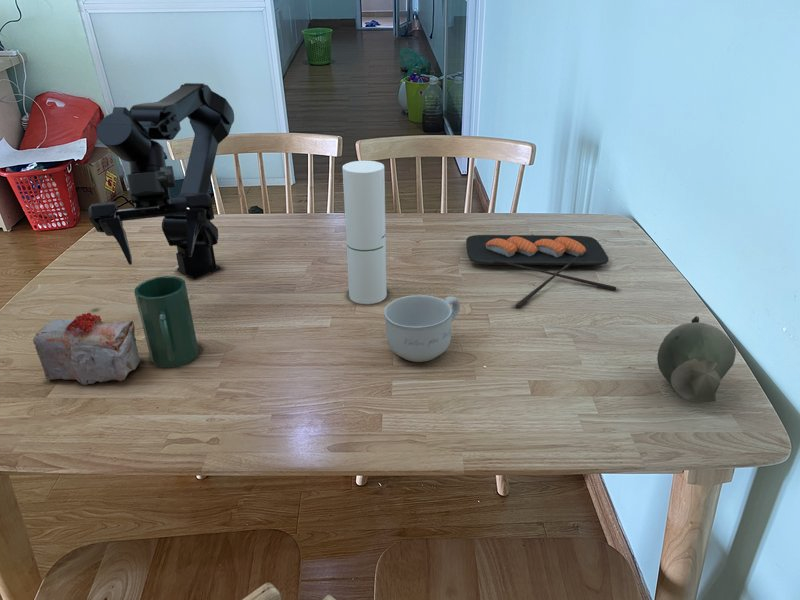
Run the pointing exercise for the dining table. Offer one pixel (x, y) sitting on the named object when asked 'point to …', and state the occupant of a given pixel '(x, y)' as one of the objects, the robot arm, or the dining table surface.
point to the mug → (167, 320)
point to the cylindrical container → (365, 230)
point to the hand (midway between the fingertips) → (160, 259)
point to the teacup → (420, 326)
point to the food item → (87, 349)
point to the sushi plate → (537, 253)
